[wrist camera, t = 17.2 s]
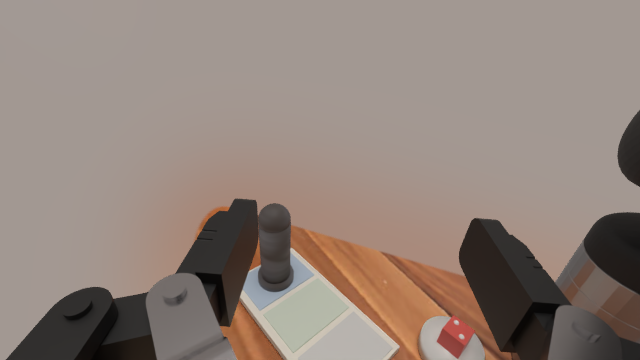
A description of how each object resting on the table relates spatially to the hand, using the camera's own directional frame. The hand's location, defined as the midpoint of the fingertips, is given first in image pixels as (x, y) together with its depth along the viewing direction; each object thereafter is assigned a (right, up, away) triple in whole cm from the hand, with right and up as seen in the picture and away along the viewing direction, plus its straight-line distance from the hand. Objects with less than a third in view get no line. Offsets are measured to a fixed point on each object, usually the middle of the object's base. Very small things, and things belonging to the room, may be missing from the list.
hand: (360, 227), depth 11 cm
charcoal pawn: (-8, -12, +31) cm, 34 cm away
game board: (-3, -16, +28) cm, 32 cm away
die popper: (+14, -19, +25) cm, 34 cm away
